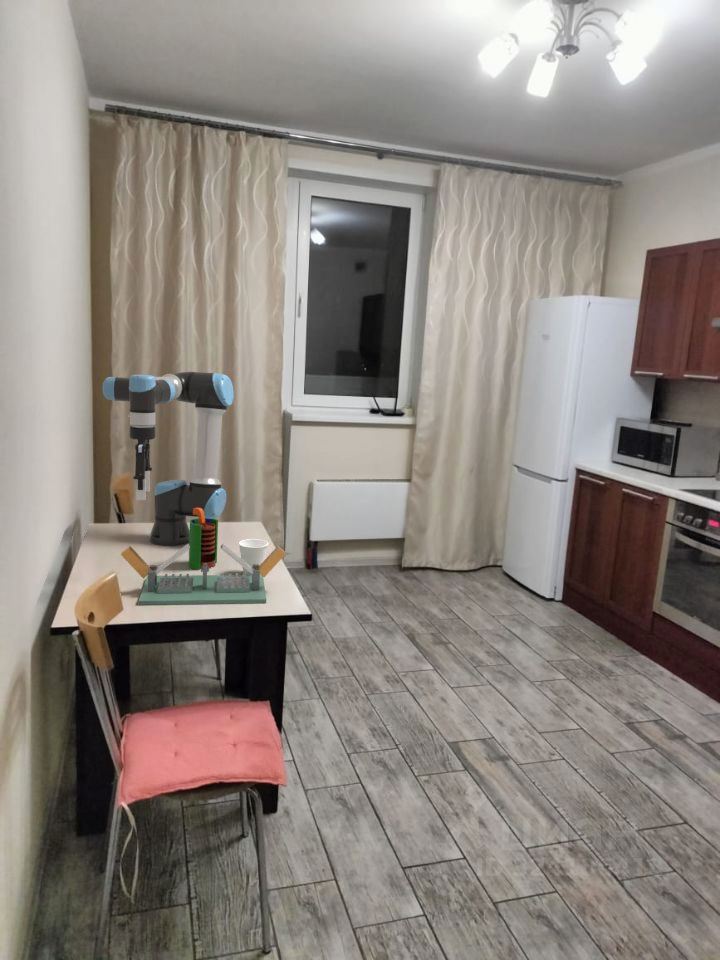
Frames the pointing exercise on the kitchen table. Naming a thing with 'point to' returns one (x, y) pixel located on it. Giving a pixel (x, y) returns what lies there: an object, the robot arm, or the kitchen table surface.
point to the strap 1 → (141, 564)
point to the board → (203, 593)
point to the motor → (202, 540)
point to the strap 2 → (266, 564)
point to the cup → (253, 552)
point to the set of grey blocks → (186, 583)
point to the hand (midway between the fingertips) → (143, 495)
